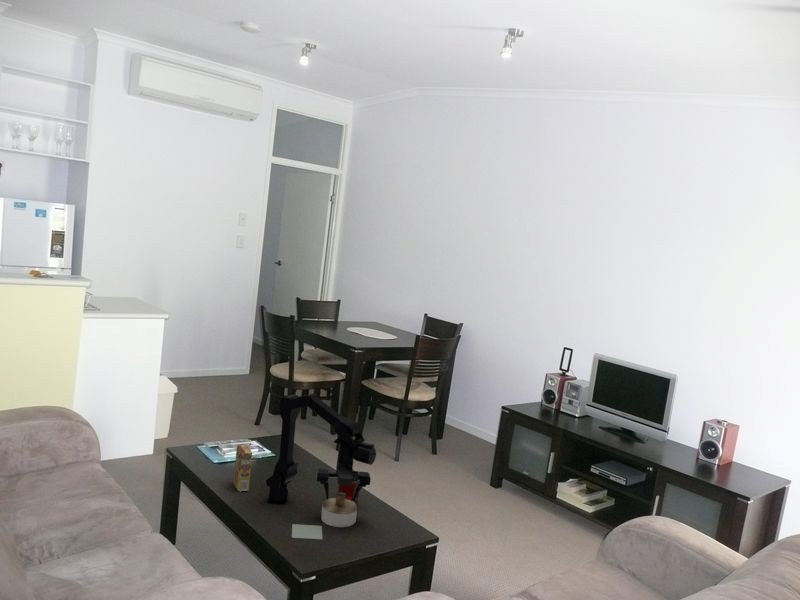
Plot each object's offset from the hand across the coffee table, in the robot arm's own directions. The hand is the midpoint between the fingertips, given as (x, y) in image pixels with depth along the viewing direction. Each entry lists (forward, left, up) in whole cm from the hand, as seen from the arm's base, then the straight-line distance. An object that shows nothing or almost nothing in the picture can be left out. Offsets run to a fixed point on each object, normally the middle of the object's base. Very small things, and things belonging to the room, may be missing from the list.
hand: (340, 500), depth 240 cm
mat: (-11, -11, -8) cm, 17 cm away
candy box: (-36, +24, -8) cm, 44 cm away
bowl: (0, 0, -8) cm, 8 cm away
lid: (0, 0, -2) cm, 3 cm away
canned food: (+4, +14, -8) cm, 16 cm away
